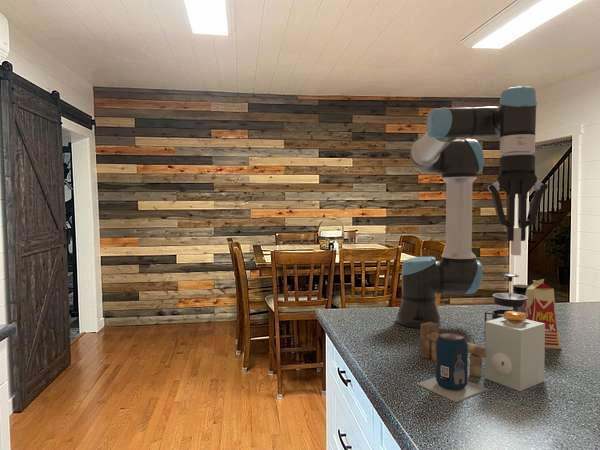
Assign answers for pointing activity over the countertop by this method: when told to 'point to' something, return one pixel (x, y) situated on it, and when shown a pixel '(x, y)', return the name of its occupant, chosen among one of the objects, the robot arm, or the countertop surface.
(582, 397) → the countertop surface
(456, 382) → the soda can
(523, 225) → the robot arm
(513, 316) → the gauge knob
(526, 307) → the milk carton
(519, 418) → the countertop surface
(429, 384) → the mat
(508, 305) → the french press
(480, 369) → the handrail
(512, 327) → the cabinet
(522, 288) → the supplement container
